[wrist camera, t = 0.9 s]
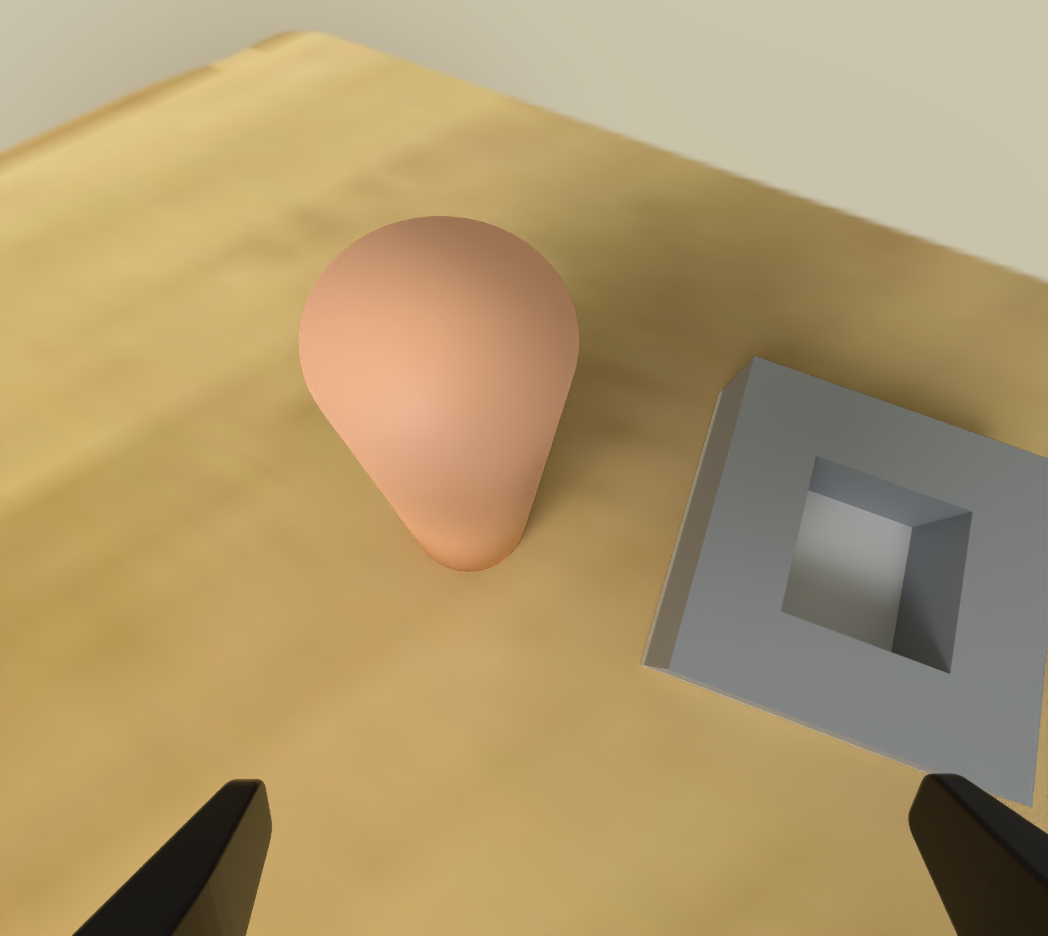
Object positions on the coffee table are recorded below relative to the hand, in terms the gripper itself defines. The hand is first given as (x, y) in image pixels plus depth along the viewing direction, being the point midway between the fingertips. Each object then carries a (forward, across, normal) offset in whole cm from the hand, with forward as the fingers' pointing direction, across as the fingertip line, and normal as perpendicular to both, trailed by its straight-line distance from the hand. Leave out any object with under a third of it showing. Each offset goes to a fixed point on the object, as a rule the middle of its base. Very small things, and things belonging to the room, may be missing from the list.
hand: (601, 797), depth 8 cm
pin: (+15, +2, +3) cm, 15 cm away
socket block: (+13, -11, +5) cm, 18 cm away
